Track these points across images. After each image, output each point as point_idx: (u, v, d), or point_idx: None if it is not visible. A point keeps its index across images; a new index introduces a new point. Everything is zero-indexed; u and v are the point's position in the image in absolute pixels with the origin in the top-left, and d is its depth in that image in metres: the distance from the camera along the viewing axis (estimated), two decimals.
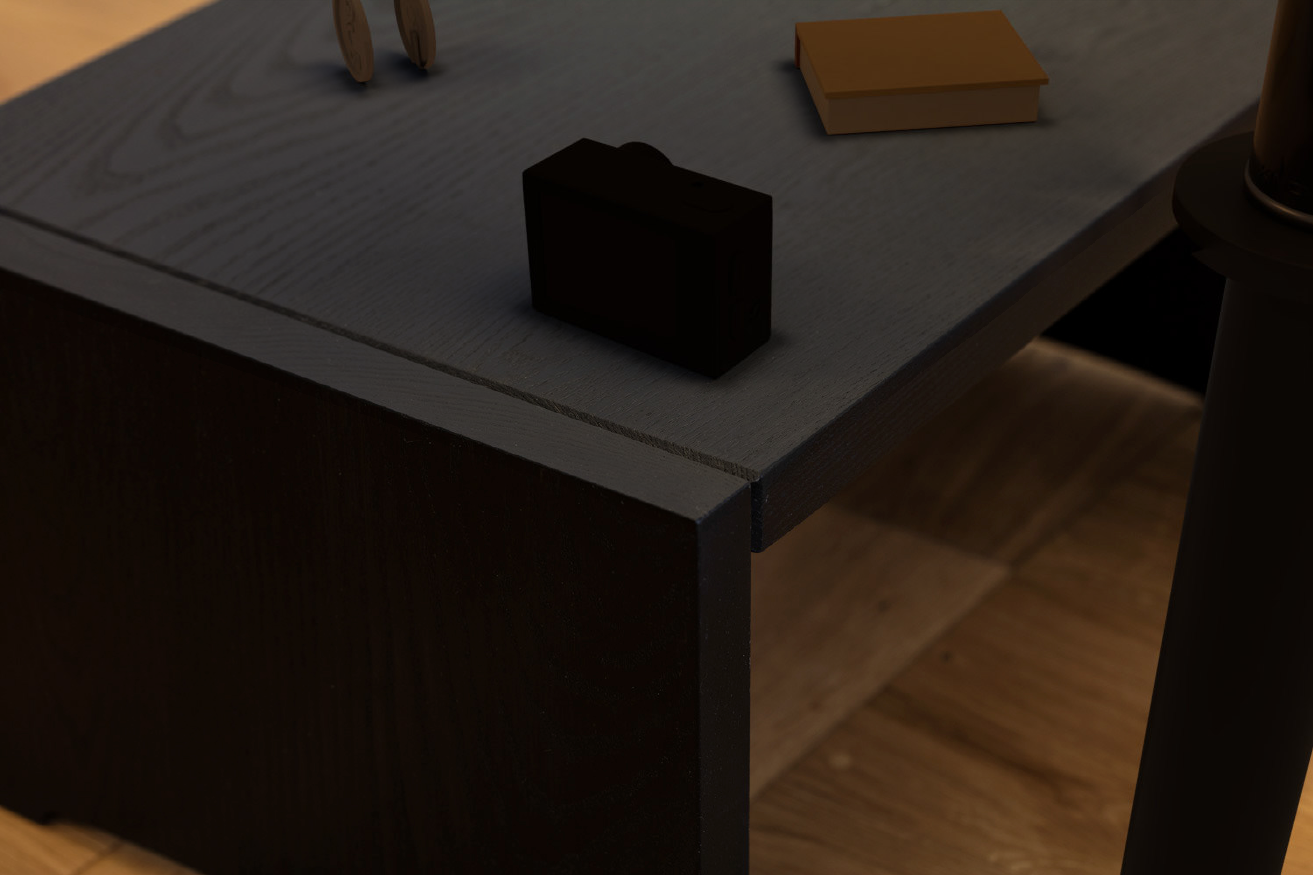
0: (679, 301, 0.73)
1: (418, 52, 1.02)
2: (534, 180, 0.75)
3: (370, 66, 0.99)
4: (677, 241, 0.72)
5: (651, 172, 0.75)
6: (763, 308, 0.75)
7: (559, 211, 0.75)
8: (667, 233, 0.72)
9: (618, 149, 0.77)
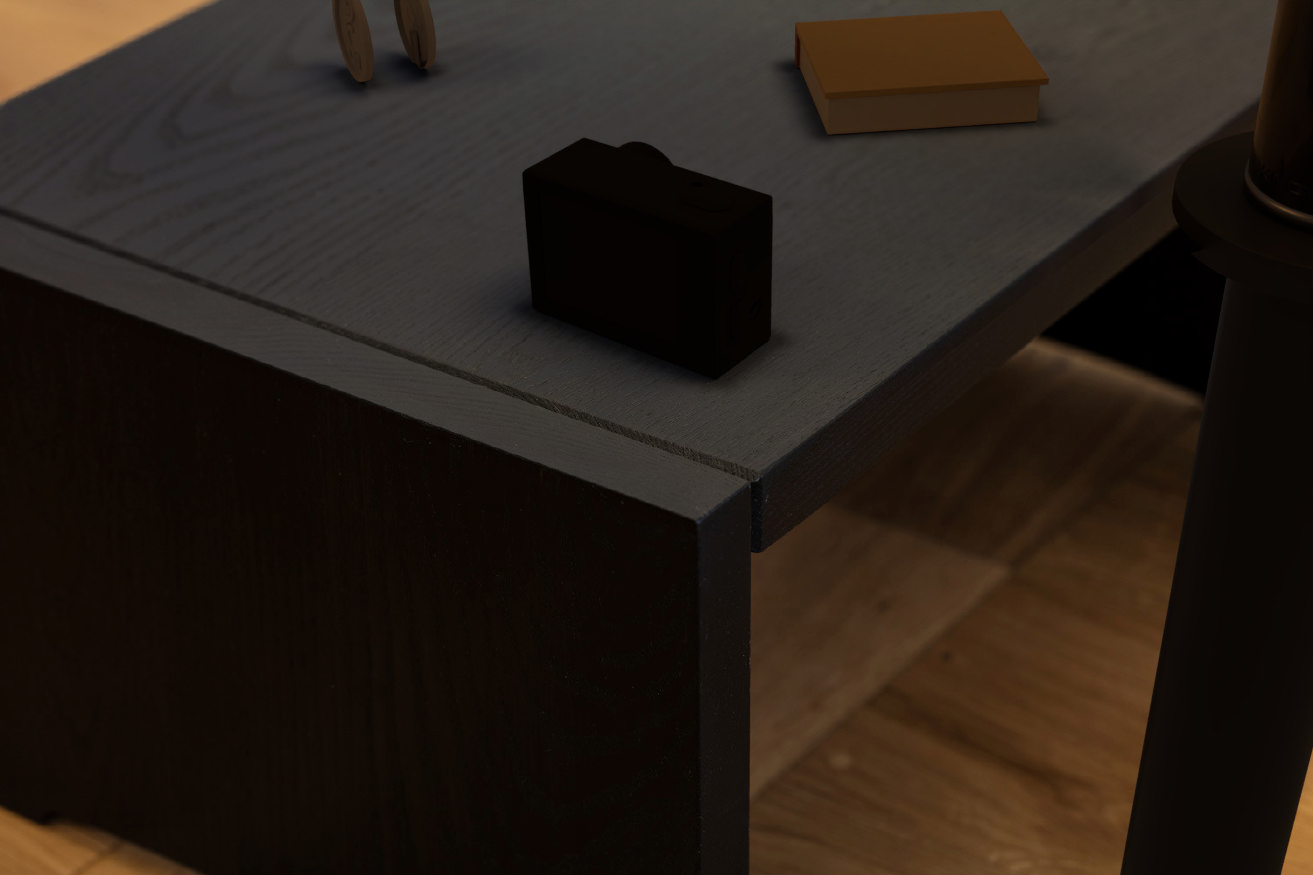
0: (679, 301, 0.73)
1: (418, 52, 1.02)
2: (534, 180, 0.75)
3: (369, 66, 0.99)
4: (677, 241, 0.72)
5: (651, 172, 0.75)
6: (763, 308, 0.75)
7: (559, 210, 0.75)
8: (667, 233, 0.72)
9: (618, 149, 0.77)
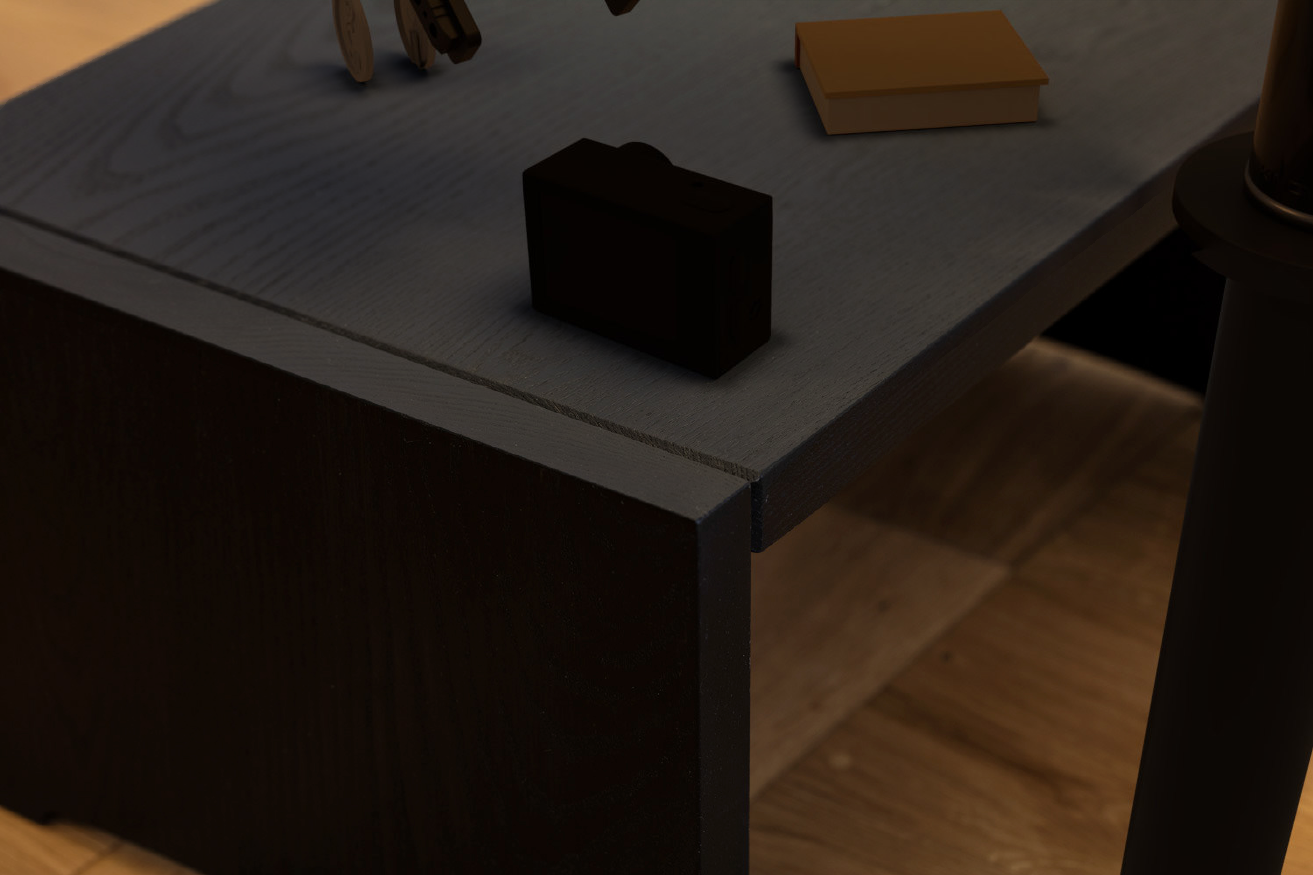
0: (679, 301, 0.73)
1: (418, 52, 1.02)
2: (534, 180, 0.75)
3: (369, 66, 0.99)
4: (677, 241, 0.72)
5: (651, 172, 0.75)
6: (763, 308, 0.75)
7: (559, 211, 0.75)
8: (667, 233, 0.72)
9: (618, 149, 0.77)
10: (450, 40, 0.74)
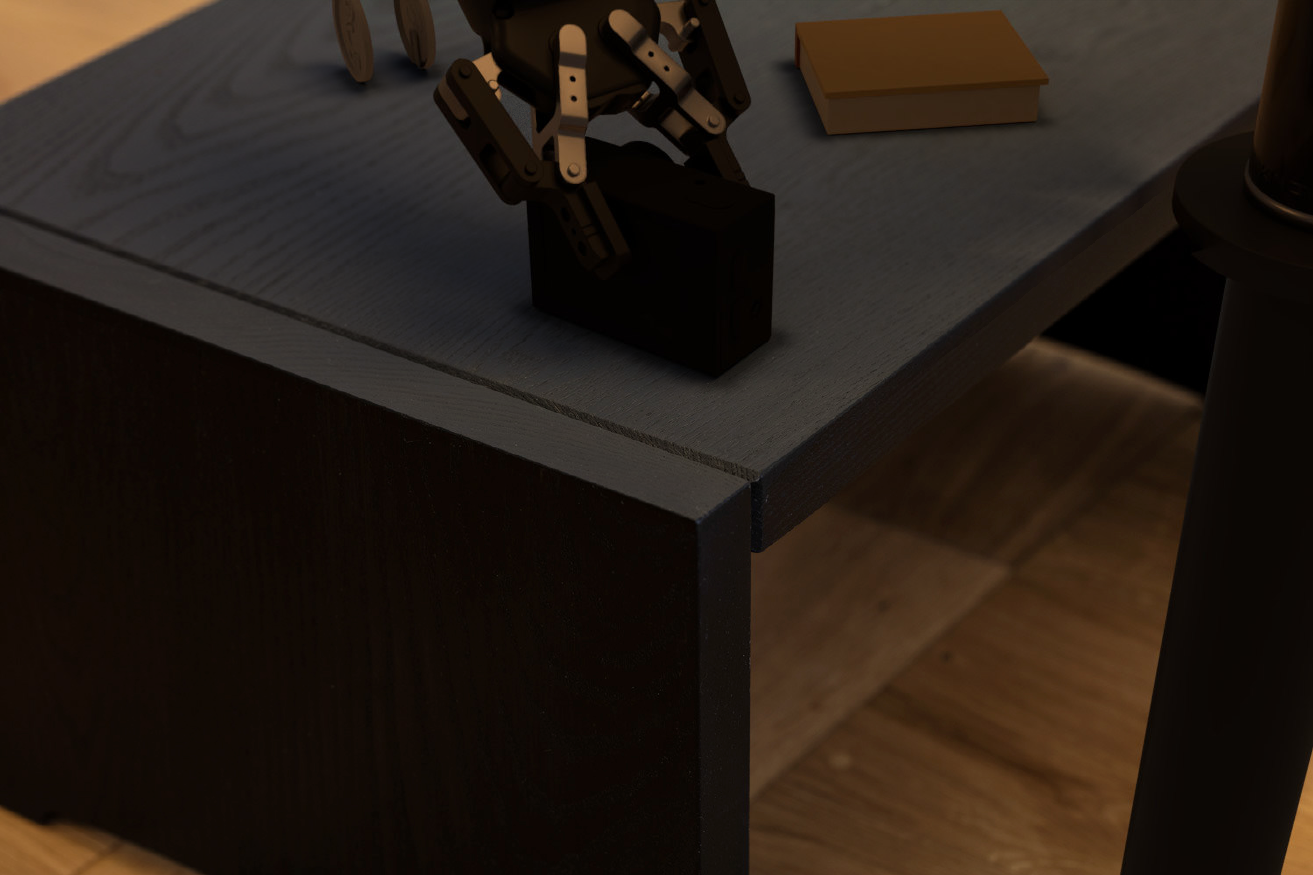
0: (680, 298, 0.73)
1: (418, 52, 1.02)
2: None
3: (369, 66, 0.99)
4: (679, 237, 0.72)
5: (654, 170, 0.75)
6: (764, 307, 0.75)
7: None
8: (669, 229, 0.72)
9: (621, 147, 0.77)
10: (600, 260, 0.72)
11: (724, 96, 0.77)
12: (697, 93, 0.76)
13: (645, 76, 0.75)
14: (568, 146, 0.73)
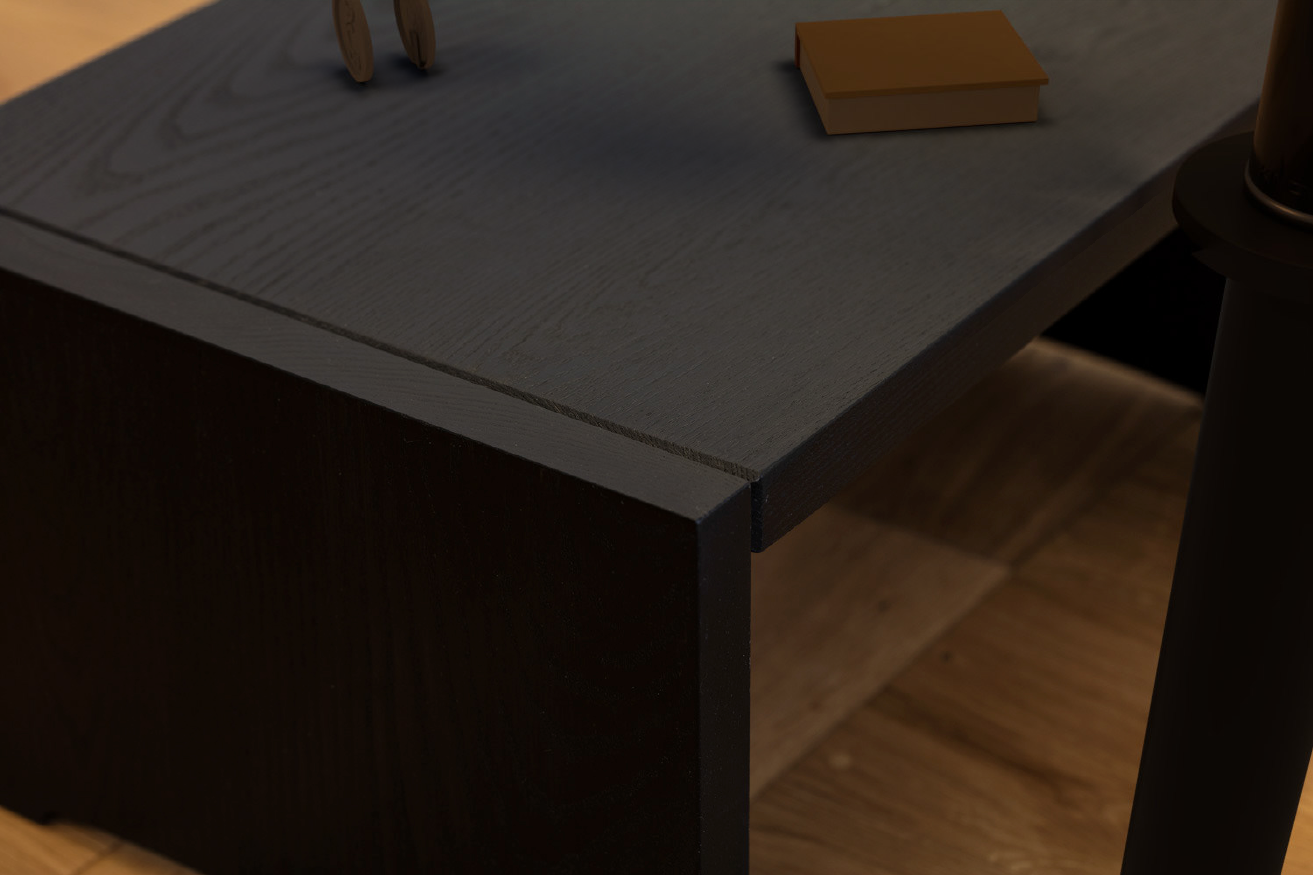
0: None
1: (418, 52, 1.02)
2: None
3: (369, 66, 0.99)
4: None
5: None
6: None
7: None
8: None
9: None
10: None
11: None
12: None
13: None
14: None
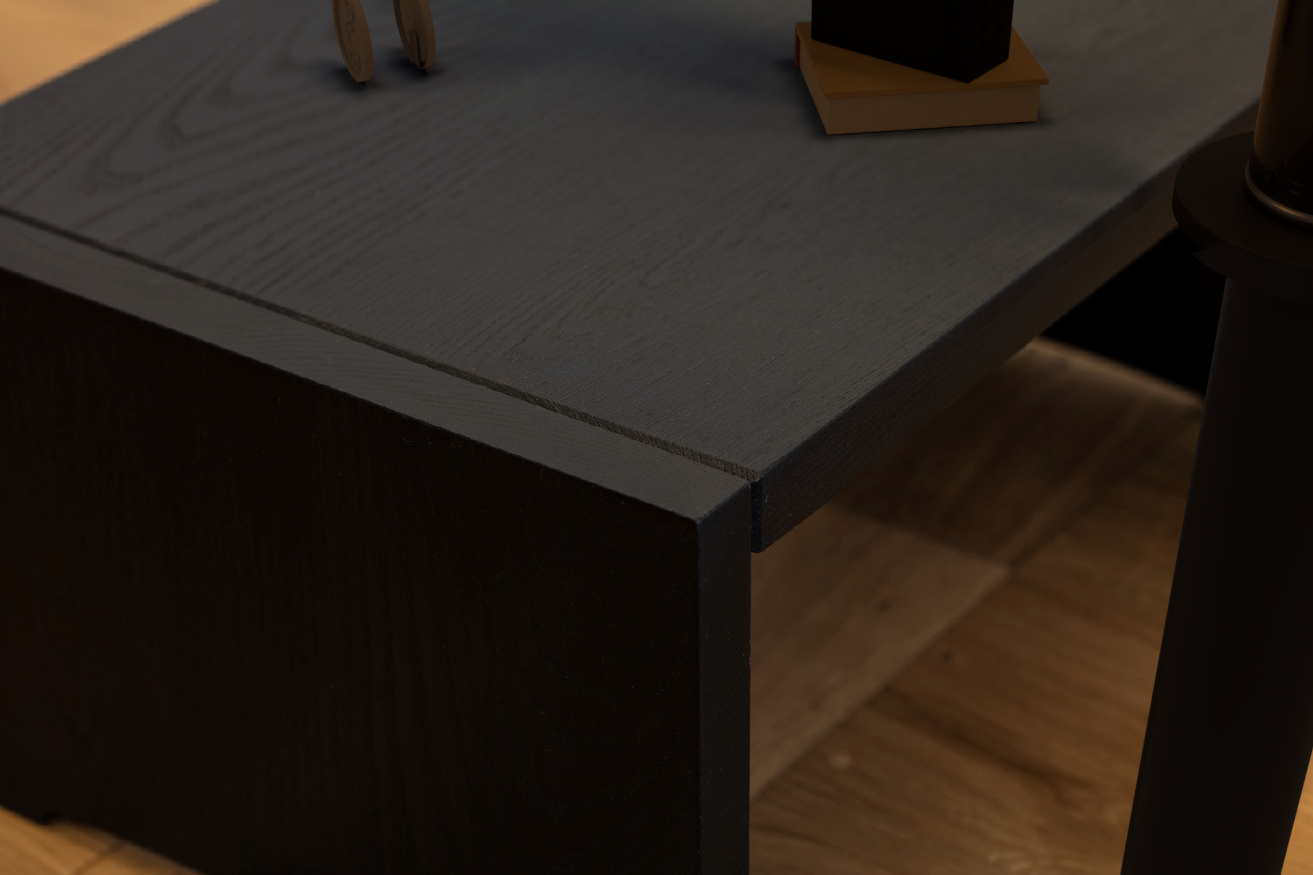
0: (941, 18, 0.92)
1: (418, 52, 1.02)
2: None
3: (369, 66, 0.99)
4: None
5: None
6: (1005, 31, 0.94)
7: None
8: None
9: None
10: None
11: None
12: None
13: None
14: None
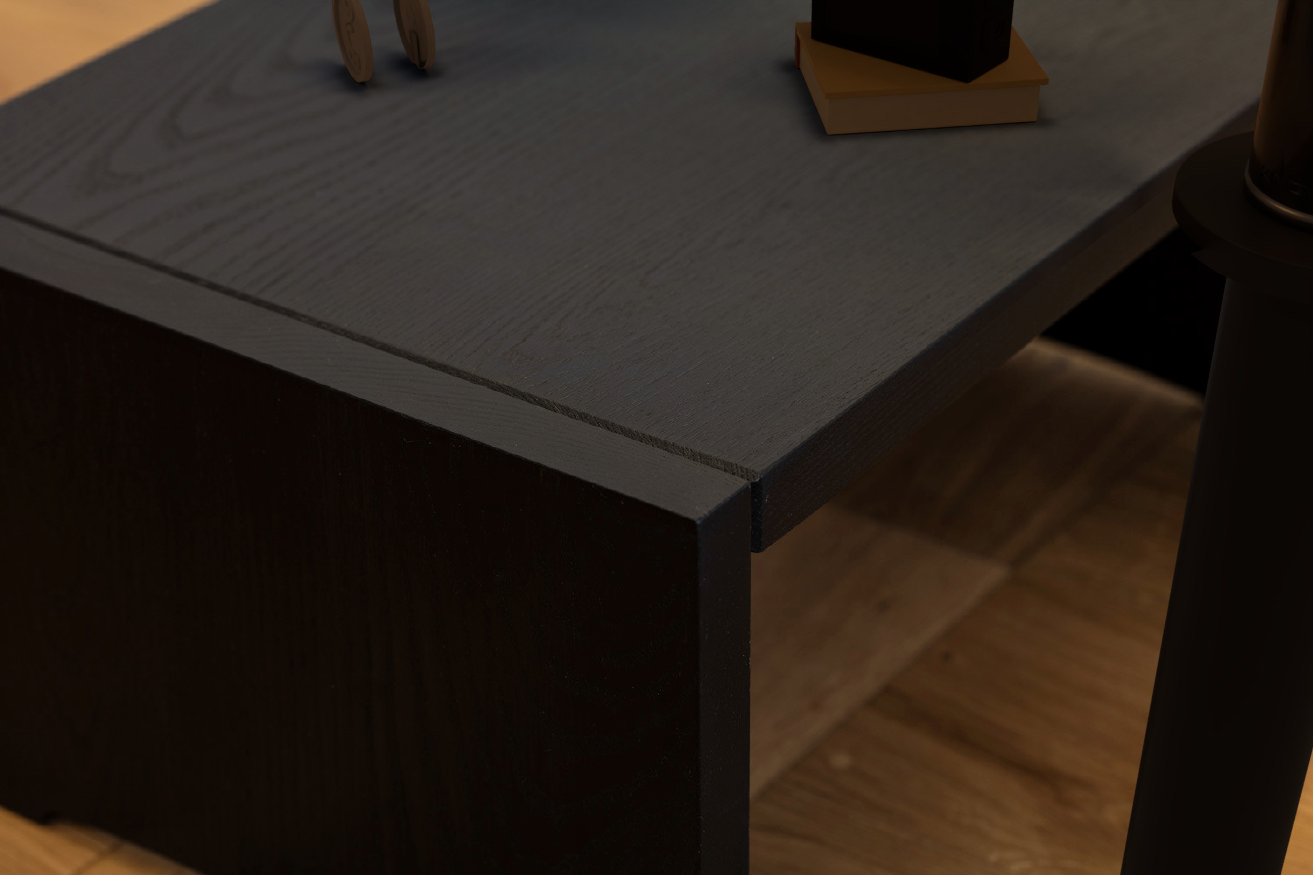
0: (941, 18, 0.92)
1: (417, 52, 1.02)
2: None
3: (369, 66, 0.99)
4: None
5: None
6: (1005, 31, 0.94)
7: None
8: None
9: None
10: None
11: None
12: None
13: None
14: None
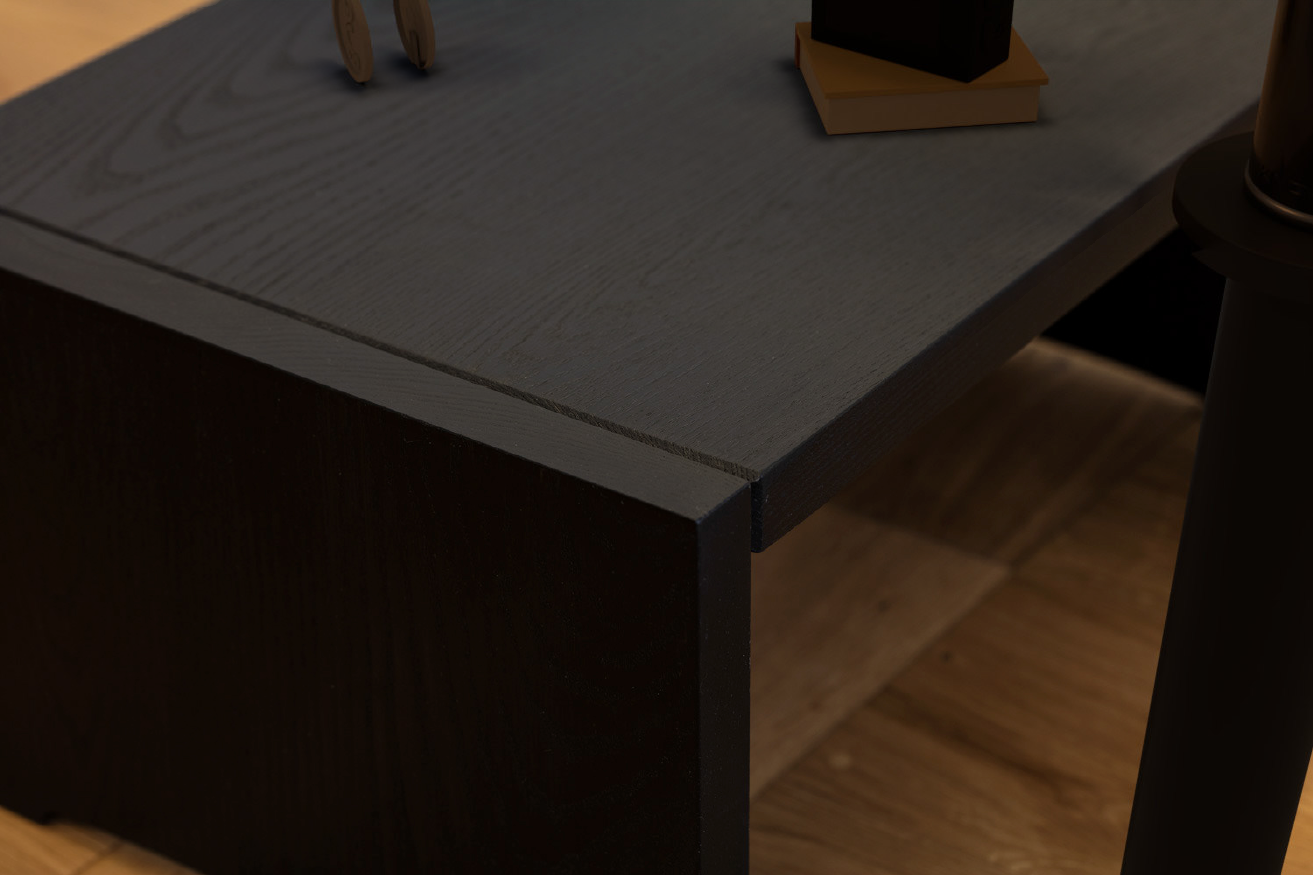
0: (941, 18, 0.92)
1: (417, 52, 1.02)
2: None
3: (369, 66, 0.99)
4: None
5: None
6: (1005, 31, 0.94)
7: None
8: None
9: None
10: None
11: None
12: None
13: None
14: None
